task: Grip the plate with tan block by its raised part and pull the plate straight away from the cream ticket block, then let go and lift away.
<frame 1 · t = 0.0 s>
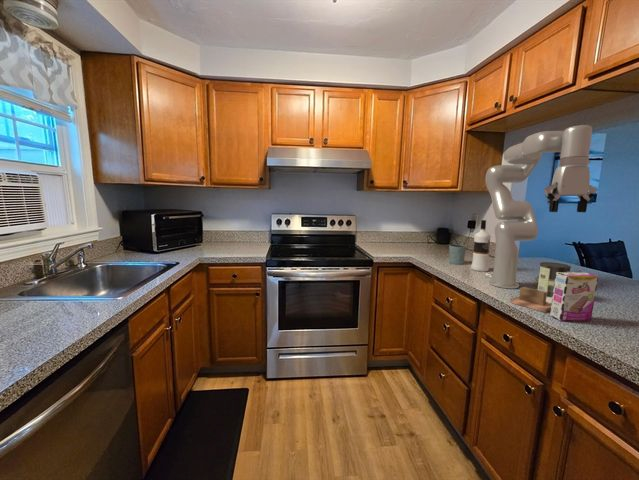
hand: (567, 212, 102), 37 cm above the table, tool pointing down, fingers open, 9 cm apart
plate with tan block: (532, 297, 111), point 3 cm above the table, slide at 0.0 cm
ticket block: (540, 302, 116), on the table
vodka: (479, 270, 169), on the table
coffee can: (551, 296, 124), on the table
candy bar box: (570, 319, 100), on the table
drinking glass: (456, 263, 187), on the table
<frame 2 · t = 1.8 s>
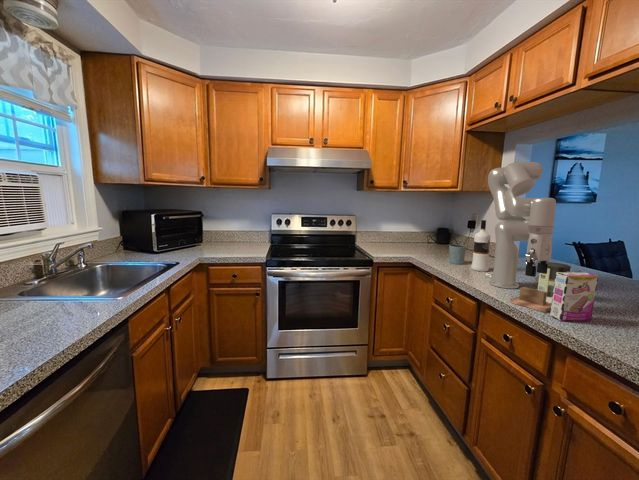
hand: (536, 274, 109), 13 cm above the table, tool pointing down, fingers open, 9 cm apart
nothing on the table moved.
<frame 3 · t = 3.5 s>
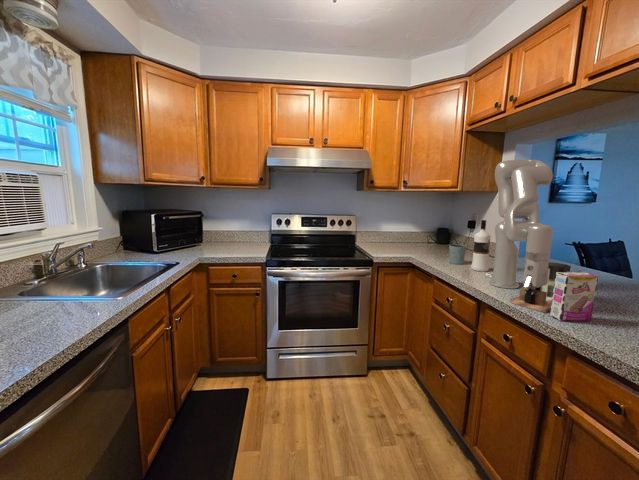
hand: (532, 301, 112), 2 cm above the table, tool pointing down, fingers closed on plate with tan block, 4 cm apart
plate with tan block: (532, 297, 111), point 3 cm above the table, slide at 0.1 cm, touching gripper
everything else where it was.
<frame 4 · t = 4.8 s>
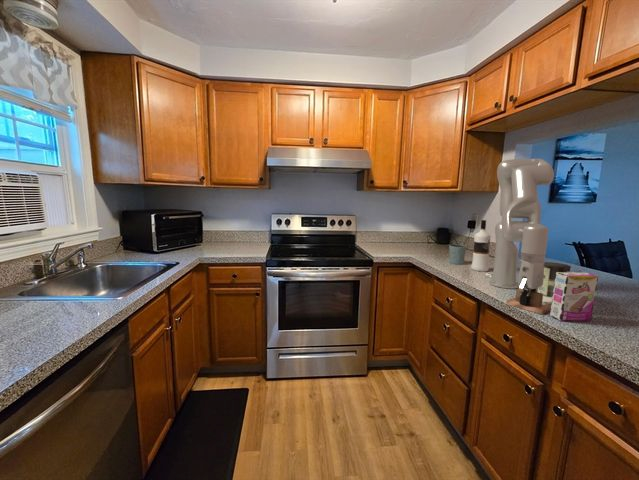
hand: (527, 303, 109), 2 cm above the table, tool pointing down, fingers open, 4 cm apart
plate with tan block: (528, 299, 110), point 3 cm above the table, slide at 3.3 cm, touching gripper
everything else where it was.
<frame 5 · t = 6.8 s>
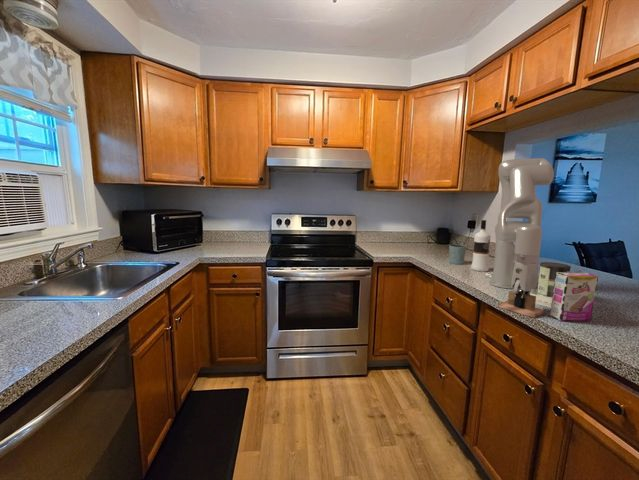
hand: (521, 306, 107), 2 cm above the table, tool pointing down, fingers closed on plate with tan block, 2 cm apart
plate with tan block: (521, 302, 107), point 3 cm above the table, slide at 9.2 cm, touching gripper
everything else where it was.
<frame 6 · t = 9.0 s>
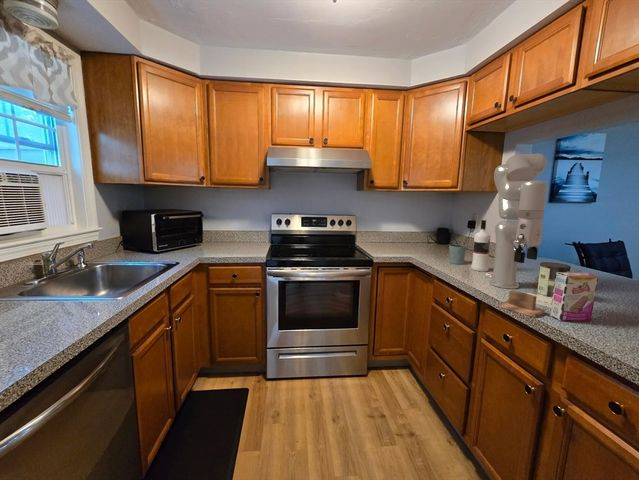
hand: (525, 260, 106), 19 cm above the table, tool pointing down, fingers open, 9 cm apart
plate with tan block: (521, 301, 107), point 3 cm above the table, slide at 8.7 cm
everything else where it was.
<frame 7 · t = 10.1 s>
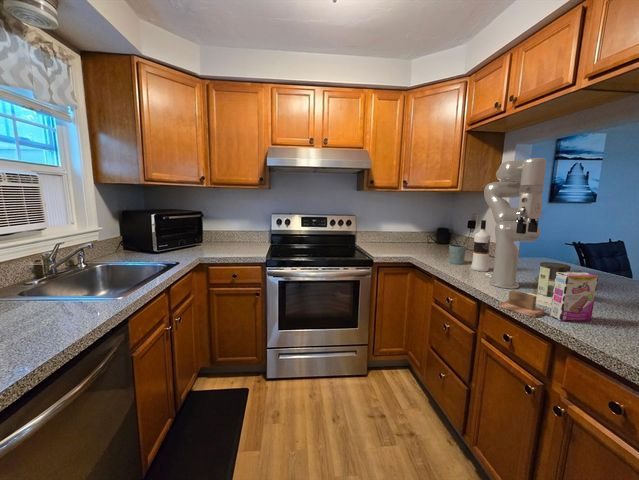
hand: (526, 232, 115), 28 cm above the table, tool pointing down, fingers open, 9 cm apart
nothing on the table moved.
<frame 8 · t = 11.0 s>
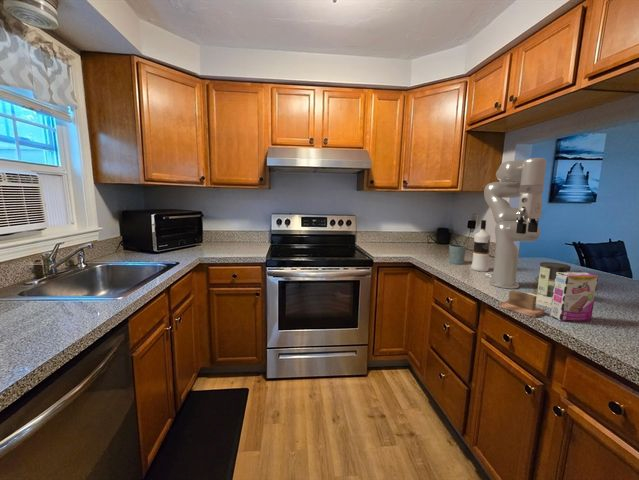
hand: (526, 232, 115), 28 cm above the table, tool pointing down, fingers open, 9 cm apart
nothing on the table moved.
at the end: plate with tan block slide at 8.7 cm; the gripper is holding nothing; candy bar box moved 0.2 cm from its start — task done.
